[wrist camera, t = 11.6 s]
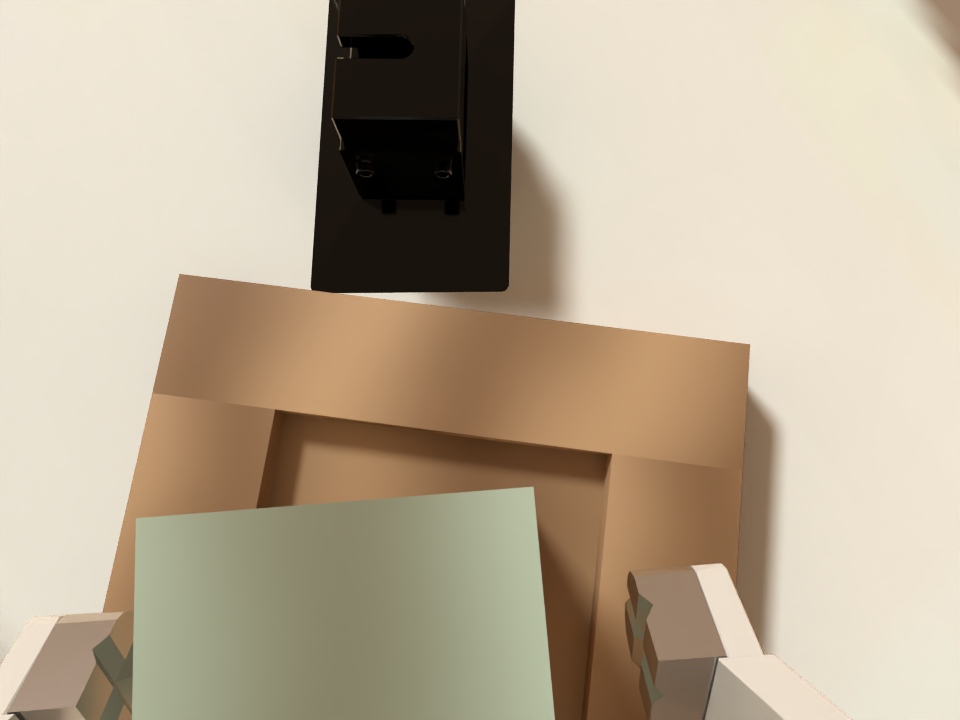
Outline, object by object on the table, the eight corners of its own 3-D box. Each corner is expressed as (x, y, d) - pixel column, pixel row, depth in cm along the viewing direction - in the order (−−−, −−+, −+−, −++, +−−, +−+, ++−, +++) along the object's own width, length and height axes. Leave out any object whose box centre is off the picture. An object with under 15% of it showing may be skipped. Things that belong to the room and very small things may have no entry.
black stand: (315, -38, 21) (268, -181, 17) (548, -36, 21) (564, -179, 16) (283, 350, 19) (218, 306, 14) (546, 356, 19) (564, 313, 14)
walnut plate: (86, 865, 16) (34, 912, 14) (209, 294, 18) (179, 273, 17) (685, 963, 15) (711, 1025, 13) (724, 359, 18) (750, 344, 16)
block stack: (314, 729, 15) (126, 978, 7) (308, 505, 16) (136, 518, 8) (533, 711, 15) (574, 945, 7) (513, 488, 16) (533, 487, 8)
